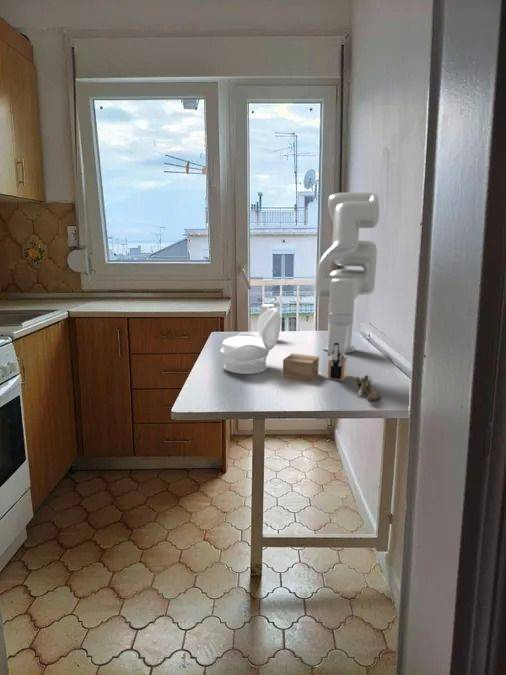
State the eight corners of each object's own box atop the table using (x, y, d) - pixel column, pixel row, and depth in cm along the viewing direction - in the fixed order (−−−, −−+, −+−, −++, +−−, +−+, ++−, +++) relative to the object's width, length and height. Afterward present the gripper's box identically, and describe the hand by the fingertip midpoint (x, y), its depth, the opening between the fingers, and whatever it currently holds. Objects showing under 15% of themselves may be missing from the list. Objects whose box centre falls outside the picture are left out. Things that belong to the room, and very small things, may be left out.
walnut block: (291, 371, 147) (292, 353, 146) (318, 374, 143) (319, 356, 142) (282, 378, 139) (283, 359, 138) (310, 382, 135) (311, 363, 134)
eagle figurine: (342, 388, 126) (356, 393, 117) (354, 366, 127) (370, 369, 118) (363, 401, 127) (379, 407, 119) (375, 380, 128) (392, 384, 119)
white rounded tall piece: (275, 341, 190) (276, 306, 187) (259, 340, 190) (260, 306, 187) (274, 337, 197) (275, 304, 194) (259, 337, 197) (260, 303, 194)
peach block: (330, 374, 143) (331, 356, 142) (346, 376, 142) (347, 357, 141) (327, 378, 139) (328, 359, 138) (343, 380, 137) (345, 361, 136)
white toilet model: (220, 359, 158) (220, 304, 154) (275, 359, 160) (277, 304, 156) (220, 376, 139) (220, 313, 135) (283, 376, 141) (285, 313, 136)
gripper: (332, 313, 146) (329, 367, 149) (323, 322, 130) (320, 381, 134) (356, 315, 143) (352, 370, 147) (349, 324, 127) (345, 384, 131)
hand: (337, 375), depth 140 cm, fingers closed on peach block, 5 cm apart
